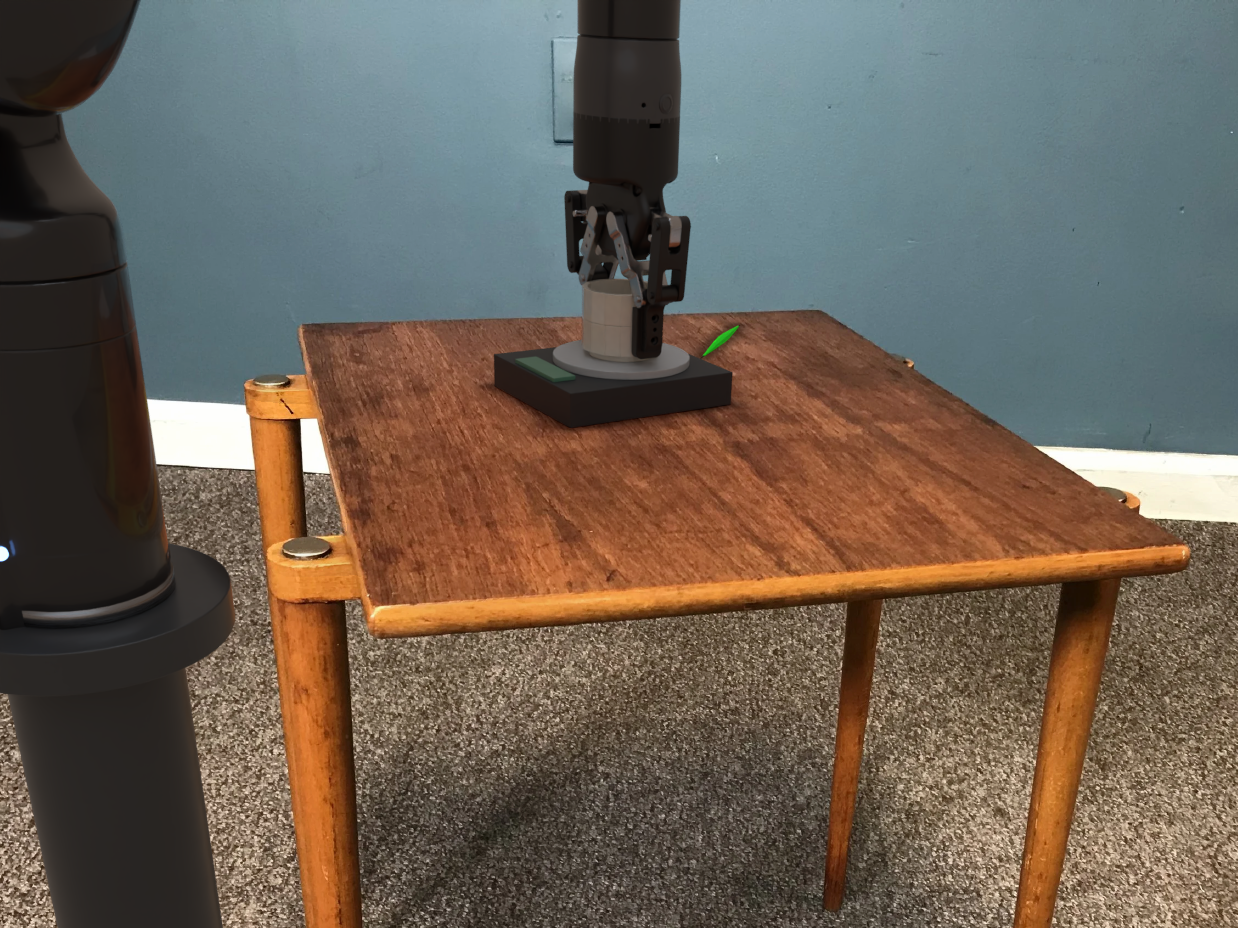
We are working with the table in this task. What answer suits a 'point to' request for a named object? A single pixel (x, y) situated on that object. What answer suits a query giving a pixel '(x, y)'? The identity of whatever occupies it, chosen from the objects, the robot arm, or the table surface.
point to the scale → (610, 384)
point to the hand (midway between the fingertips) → (621, 345)
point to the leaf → (721, 340)
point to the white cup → (608, 319)
